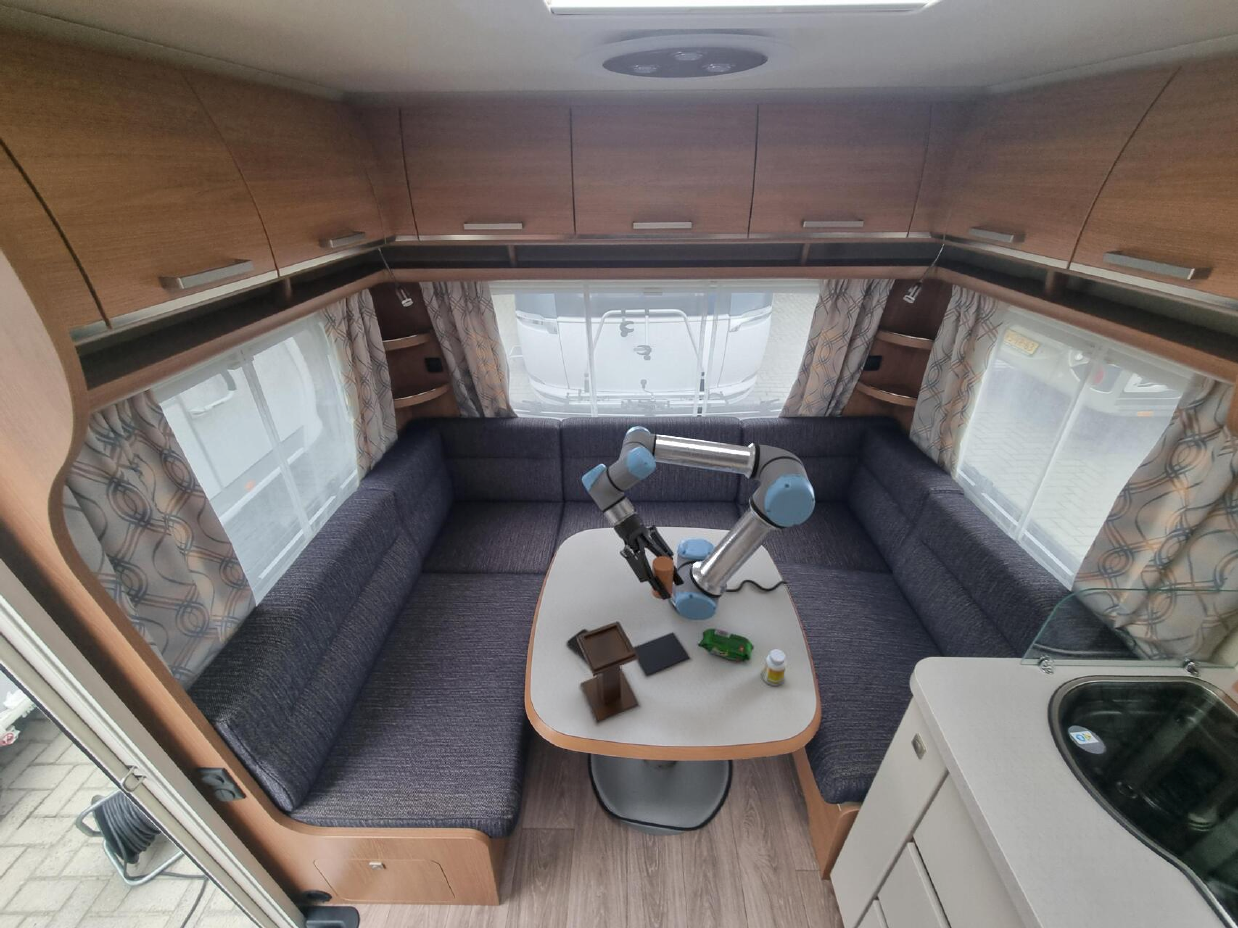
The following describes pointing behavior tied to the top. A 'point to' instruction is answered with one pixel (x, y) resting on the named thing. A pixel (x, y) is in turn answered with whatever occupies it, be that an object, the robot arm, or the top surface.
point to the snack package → (726, 645)
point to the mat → (660, 654)
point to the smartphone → (577, 644)
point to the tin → (663, 573)
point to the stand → (607, 670)
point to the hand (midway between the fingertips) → (673, 591)
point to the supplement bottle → (774, 667)
